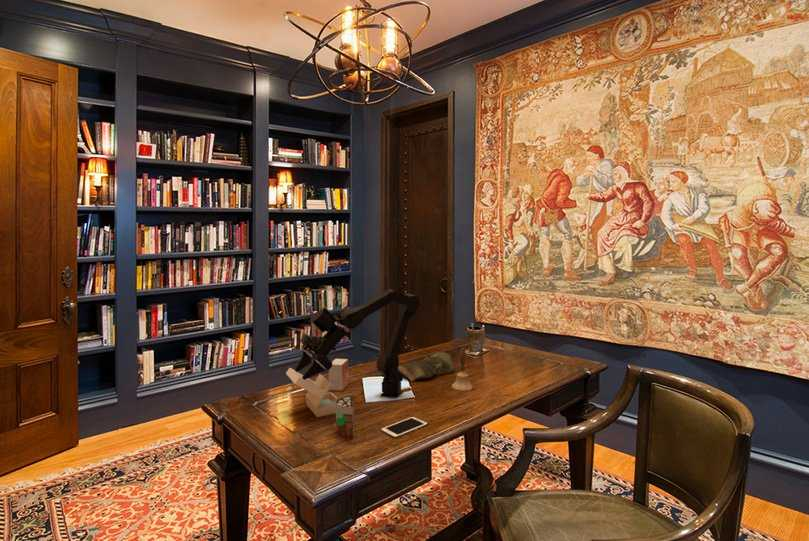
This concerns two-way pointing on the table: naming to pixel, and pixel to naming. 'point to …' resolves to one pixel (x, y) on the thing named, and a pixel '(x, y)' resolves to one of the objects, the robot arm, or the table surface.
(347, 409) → the food container
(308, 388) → the flap
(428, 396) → the table surface
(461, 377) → the hand bell
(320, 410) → the carton
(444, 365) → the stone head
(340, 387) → the small box
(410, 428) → the cell phone
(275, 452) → the table surface
